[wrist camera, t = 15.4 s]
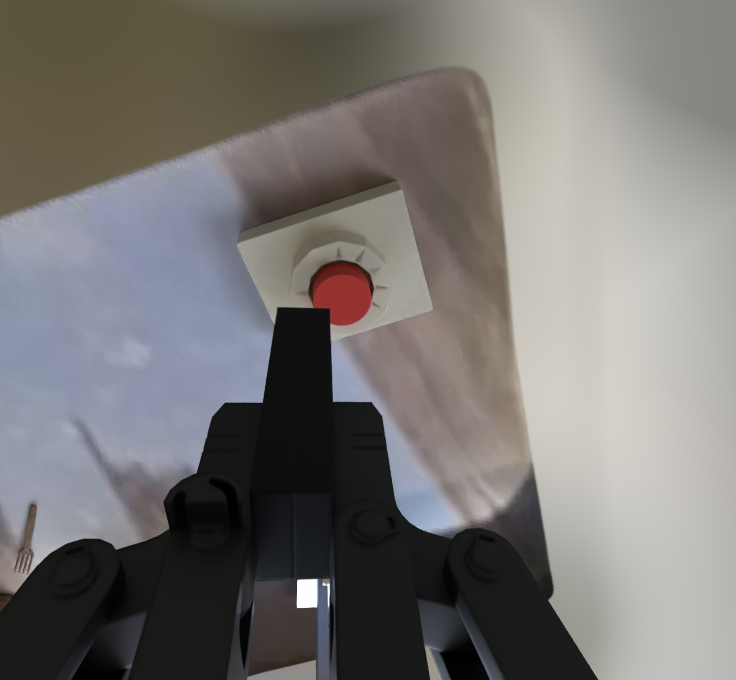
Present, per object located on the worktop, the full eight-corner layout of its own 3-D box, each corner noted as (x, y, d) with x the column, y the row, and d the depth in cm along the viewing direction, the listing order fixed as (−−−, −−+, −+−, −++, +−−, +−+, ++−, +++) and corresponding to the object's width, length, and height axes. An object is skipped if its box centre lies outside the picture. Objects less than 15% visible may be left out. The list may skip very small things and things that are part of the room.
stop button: (359, 255, 30) (361, 266, 29) (375, 303, 32) (378, 316, 31) (305, 272, 31) (304, 284, 29) (324, 319, 33) (324, 332, 31)
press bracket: (299, 528, 49) (293, 695, 37) (386, 527, 51) (410, 688, 38) (297, 596, 56) (291, 759, 43) (375, 593, 57) (391, 751, 44)
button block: (397, 179, 32) (406, 197, 28) (427, 296, 37) (438, 323, 33) (239, 231, 33) (230, 254, 29) (289, 338, 38) (287, 369, 34)
